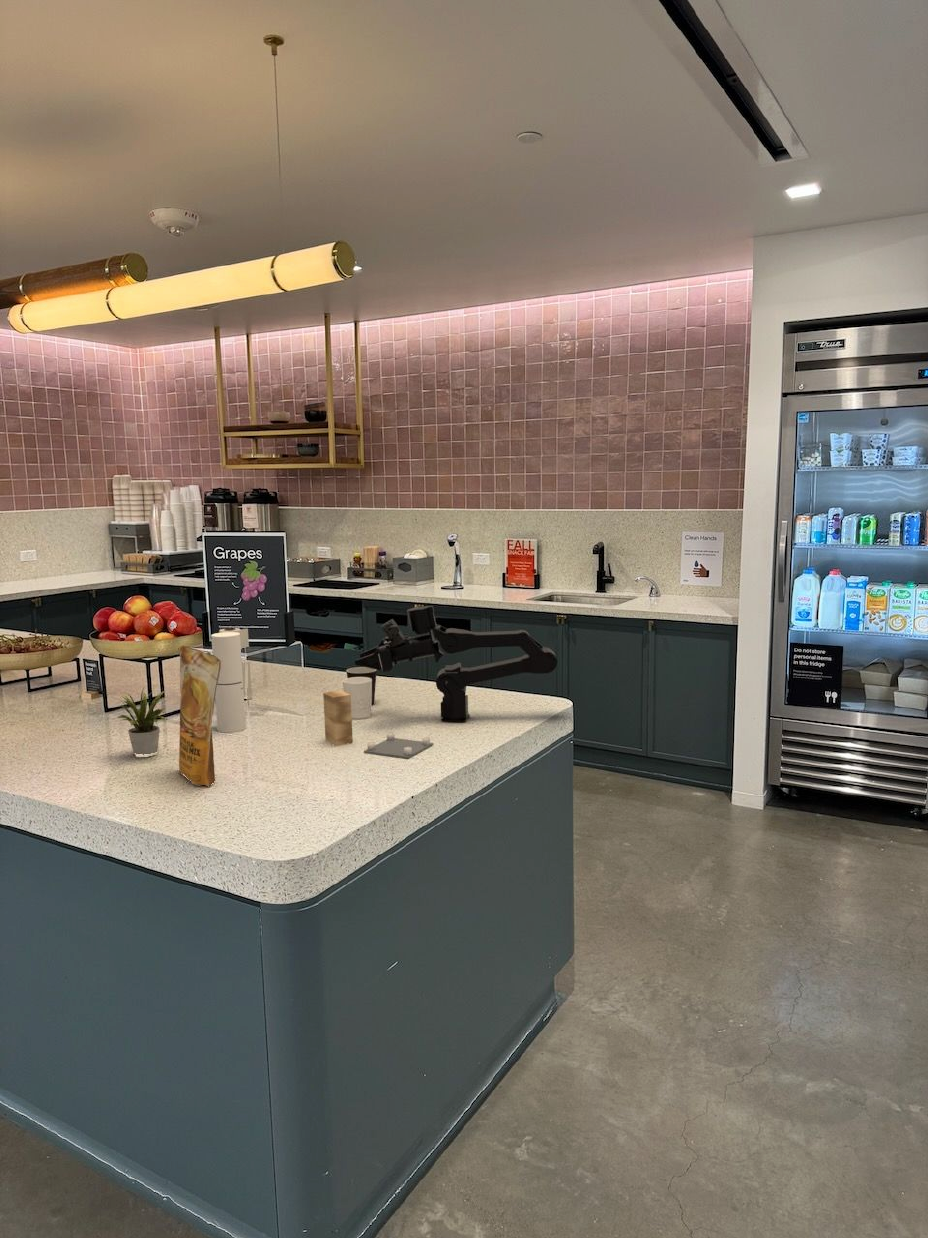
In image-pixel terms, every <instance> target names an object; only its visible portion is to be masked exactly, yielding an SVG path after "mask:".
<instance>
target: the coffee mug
mask: <svg viewBox="0 0 928 1238" xmlns="http://www.w3.org/2000/svg"><path fill="white" fill-rule="evenodd" d="M377 671H378V670H376V669H372V668H368V667H363V666H359V667H350V668H347V669H346V671H345V672H346V677H347V678H352V677H368V678H371V679H372V706H374V705H375V699H376V698H375V697H376V687H377V686H376V685H377V684H376V683H377ZM347 678H346V679H347Z"/></svg>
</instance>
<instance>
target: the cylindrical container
mask: <svg viewBox="0 0 928 1238" xmlns="http://www.w3.org/2000/svg"><path fill="white" fill-rule="evenodd" d="M210 639H211V648H212V649H211V651H212V655H214V656H216V657H217V658H218V659H219V660H220V661H221V669H220V673H219V678H218V683H217V687H216V693H215V711H216V728H217V732H219V733H222V732H223V733H224V732H225V733H224V734H227V733H228V734H230V733H232V732H233V733H239V732H241V731H244V730H245V729H246V728H247V727H246V723H247V722H246V710H245V707H246V706H245V700H244V691H243V674H242V658H241V641H240V633H238V632H222V633H219V632H217V633H213V634H211V638H210Z"/></svg>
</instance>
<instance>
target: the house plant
mask: <svg viewBox="0 0 928 1238" xmlns="http://www.w3.org/2000/svg"><path fill="white" fill-rule="evenodd" d="M144 690H145V687H143V688H142V691H141V692H140V693H141V694H140V707H139V708H137V706H136V703H135V701H134V699H133V697H132V696H131V694H129V693H127V692H125V694H126V695H125V694H122V696H121V697H122V698H123V699H124V701H122V700H120V699H119V698H117V697H114V696H112V698H113V699H117V700H119V702H120V703H122V704H123V705H120V707H121V708H122V709H123V708H124V709H125V711H127V713H128V714H129V716H130V717H129V716H127V715H126V714H119V715H118V716H117V718H116V719H120V720H119V721H128V722H129V723H130V727H131V728H129V729H128V730H127V732H128V736H129V740H130V744H131V749H132V752H133V754H134V753H136V754H143V755H144V754H151V753H155V752H157V751H159V740H160V739H159V738H160V727H159V726H157V725H154V724H155V723H156V724H158V719H161V720H163V721H164V722H166V718H165V716H163V715H161V714H162V713H163V712H164V710H165V708H161V709H160V708H158V709H156V710H154V709H155V706H157V703H159V701H160V700H162V699H163V698H167V696H164V697H162V695H163V694H164V693H165V692H166V691H167V690H163V691H161V692H160V693H158V695H156V696H155V698H154V699H153V701H152V702H151V703H150V701H149V702H148V700H147V699H148V697H149V696H150V695H151V694H152V693H153V691H152V692H150V693H149V694H148V695H147V694H146V693H145V692H144ZM127 695H128V696H129V697H128V696H127ZM146 695H147V696H146ZM129 698H130V699H129ZM148 703H150V705H149V707H148V710H147V706H148ZM126 704H127V705H128V706H129V707H130V708H131V709H132V710H131V709H130V708H129V707H128V706H127V705H126ZM153 710H154V711H153ZM132 711H133V712H132ZM121 718H122V719H121ZM132 726H133V727H132Z"/></svg>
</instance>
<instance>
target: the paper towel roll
mask: <svg viewBox="0 0 928 1238" xmlns="http://www.w3.org/2000/svg"><path fill="white" fill-rule="evenodd" d="M222 632H238V633H240V641H241V649H242V648H246V647H249V648H250V642H249V628H242V629H241V628H238V627H228V628H221V629H219V631H218V633H222ZM247 664H248V688H247V696H248V698H249V699H248V700H250V699H252V698H253V693H252V676H251V660H250V661H249V662H248V663H247ZM242 674H243V691H244V697H245V695H246V692H245V663H243V662H242Z"/></svg>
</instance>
